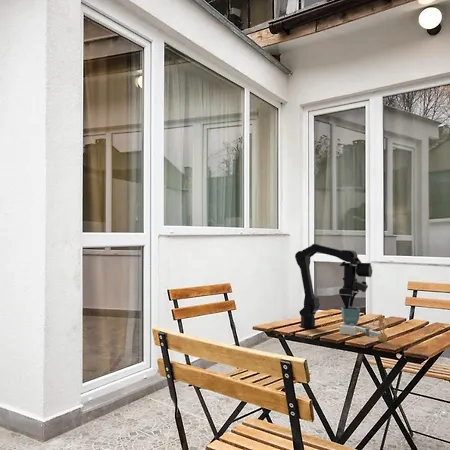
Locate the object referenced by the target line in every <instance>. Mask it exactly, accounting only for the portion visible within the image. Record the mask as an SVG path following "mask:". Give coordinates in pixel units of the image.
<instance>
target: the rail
mask: <svg viewBox="0 0 450 450" xmlns="http://www.w3.org/2000/svg"><path fill="white" fill-rule="evenodd" d="M350 326H354V324H350ZM356 330H357V331H356V332H360V331H361V332H360V333H363V332H365V333H364V334H365V336H366V337H369V336H370V335H371V336H374V337H377V338H378V336H379V334H380V331H376V330H372V329H371V328H370V327H361V326H359V325H356Z"/></svg>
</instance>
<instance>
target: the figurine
mask: <svg viewBox="0 0 450 450" xmlns="http://www.w3.org/2000/svg"><path fill="white" fill-rule="evenodd" d="M376 320H378V323H377V324H378V327H379V333H380V334H379V336H378V337H377V339H378V341H379V342H380V343H386V342H387V341H388V335H387V334H386V332H385V329H386V326H385V322H384V320H385V321H386V322H387V323H388V324H389V327H390V326H392V325H391V323H390V321H389V320H388V319H387V318H385V317H384V316H383V314H380V315H378V316H377V317H375V318H374V319H373V321H372V322H373V323H372V326H375V322H376ZM381 330H382V331H381Z"/></svg>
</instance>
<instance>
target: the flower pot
mask: <svg viewBox="0 0 450 450" xmlns="http://www.w3.org/2000/svg"><path fill="white" fill-rule="evenodd" d="M340 309H341V312H340V313H341V319H342V321H343V323H344V325H350V324H354V326H357V324H358V322H359V319H360V314H361V309H360V308H358V307H353V306H352V307H350V306H349V308H348V309H346V308H345V306H341V308H340Z"/></svg>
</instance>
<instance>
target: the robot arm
mask: <svg viewBox="0 0 450 450" xmlns="http://www.w3.org/2000/svg"><path fill="white" fill-rule="evenodd" d="M317 253H320V254H322V255H323V254H324V255H327V256H332V257H336V258H337V259H339V260H342V262H341V263H340V264H339V266H340V267H343V277H342V280H343V285H342V287H340V288H339V290H338V294H339V296H340V298H341V301H342V304H344V305H343V306H344V307H345V308H346V309H348V308H349V307H353V305H354V302H355V298H356V296H357V295H358V294H359V292H360V291H361V292H363V293H366V292H367V289H368V286H369V285H368V284H367V281H364V280H363V281H362V282H361V281H358V278H357V276H358V277H360V278H361V277H364V278H372V276H373V268H372V263H371V262H362V261H361V260H360V259H359V257H358V254H357V252H356V251H355V250H353V249H338V248H333V247H330V246H325V245H321V244H318V243H312V244H311V245H310V246H308V247H306V248H303V250H298V251H297V252H296V253H295V256H294V258H295V261H296V264H297V265H298V268H300V269H299V270H300V274H301V280H302V286H303V291H304V299H303V300H304V301H303V307H302V308H301V309H300V310H299V311H298V312H299V315H300V325H299V324H298V326H299V327H301V328H303V329H316V328H317V326H316V318H315V315H316V314H317V312H318V311H319V309H320V306H321V304H320V298H319V297H317V296H316V295H315V293H314V289H313V287H314V286H313V282H312V281H313V280H312V276H311V270H310V265H311V258H312V257H313V256H314V255H315V254H317Z"/></svg>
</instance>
